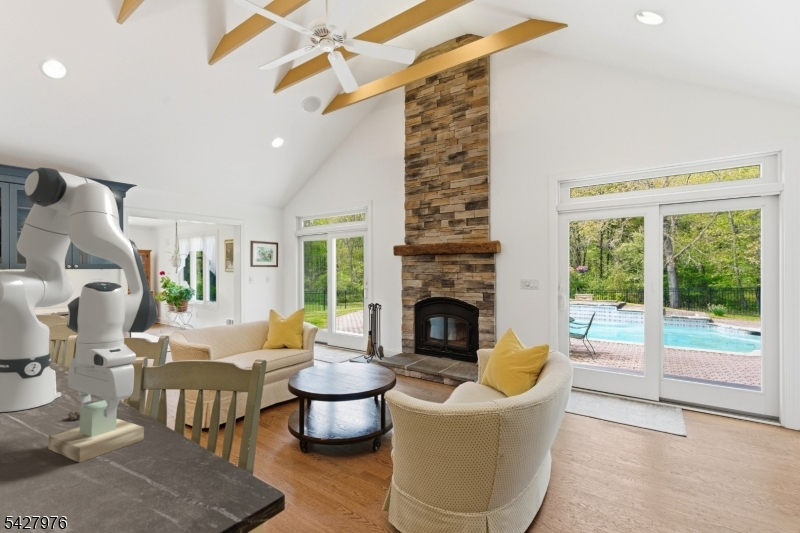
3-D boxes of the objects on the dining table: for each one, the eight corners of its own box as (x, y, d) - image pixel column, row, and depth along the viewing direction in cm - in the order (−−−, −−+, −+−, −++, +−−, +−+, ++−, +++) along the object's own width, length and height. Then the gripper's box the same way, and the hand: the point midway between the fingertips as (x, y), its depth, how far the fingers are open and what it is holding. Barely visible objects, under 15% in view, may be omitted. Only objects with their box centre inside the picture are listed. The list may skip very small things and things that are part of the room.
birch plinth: (48, 449, 88) (48, 435, 88) (112, 429, 100) (112, 417, 100) (79, 462, 82) (80, 448, 82) (143, 439, 94) (144, 427, 94)
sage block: (79, 432, 90) (80, 406, 90) (103, 425, 94) (104, 400, 94) (91, 437, 88) (92, 409, 88) (115, 429, 92) (117, 403, 92)
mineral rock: (114, 399, 116) (118, 399, 110) (115, 415, 115) (119, 415, 109) (66, 409, 108) (68, 408, 103) (67, 425, 108) (68, 426, 102)
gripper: (60, 350, 93) (58, 409, 93) (110, 360, 84) (107, 426, 84) (91, 346, 99) (89, 401, 98) (140, 355, 90) (138, 416, 89)
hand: (97, 413), depth 91 cm, fingers open, 8 cm apart
